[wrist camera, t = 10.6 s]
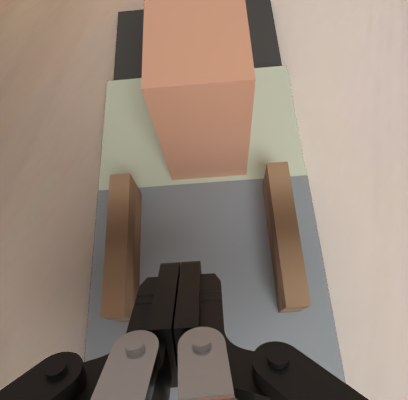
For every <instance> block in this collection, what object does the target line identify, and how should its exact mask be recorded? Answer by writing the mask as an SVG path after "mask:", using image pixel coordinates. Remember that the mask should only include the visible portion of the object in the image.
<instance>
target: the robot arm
mask: <svg viewBox="0 0 408 400" xmlns="http://www.w3.org/2000/svg"><path fill="white" fill-rule="evenodd" d="M174 387H178V400H368V399H367V398H365V397H364V396H362V395H361V394H360V393H358V392H357V391H355V390H354V389H353V388H351V387H350V386H348V385H347V384H346V383H344V382H343V381H341V380H340V379H338V378H337V377H336V376H334V375H333V374H331V373H330V372H329V371H327V370H326V369H324V368H323V367H322V366H320V365H319V364H317V363H316V362H314V361H313V360H312V359H310V358H309V357H307V356H306V355H305V354H303V353H302V352H300V351H299V350H298V349H296V348H295V347H293V346H291V345H289V344H287V343H284V342H279V341H272V342H266V343H264V344H262V345H260V346H259V347H257V348H256V350H255V351H251V350H246V349H243V348H240V347H238V346H236V345H234V344H233V343H232V342H230V341H229V339H228V338H227V337H226V334H225V331H224V318H223V304H222V289H221V281H220V279H219V278H218V277H217V275H216V274H215V273H210V274H202V271H201V262H200V261H189V262H181V263H180V262H173V263H161V264H160V269H159V273H158V277H147V278H146V279H145V281H144V282H143V283H142V284H141V285H140V286H139V289H138V293H137V298H136V300H135V303H134V307H133V310H132V314H131V317H130V321H129V324H128V328H127V331H126V334H124V335H123V336H121V337H120V338H119V339H118V340H117V341H116V342H115V343H114V345H113V347H112V349H111V351H110V353H109V354H107V355H105V356H102V357H99V358H96V359H93V360H90V361H86V362H83V361H82V359H81V357H80V356H79V355H78V354H76V353H73V352H61V353H57V354H54V355H52V356H50V357H48V358H46V359H44V360H43V361H42V362H40V363H39V364H37V365H36V366H34V367H33V368H32V369H30V370H29V371H27V372H26V373H24V374H23V375H22V376H20V377H19V378H17V379H16V380H15V381H13V382H12V383H10V384H9V385H7V386H6V387H5V388H3V389H2V390H0V400H169V398H170V388H174Z"/></svg>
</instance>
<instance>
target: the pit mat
mask: <svg viewBox="0 0 408 400" xmlns="http://www.w3.org/2000/svg"><path fill="white" fill-rule="evenodd" d="M245 2H246V10H247V17H248V25H249V33H250V40H251V48H252V55H253V63H254V68H263V67H275V66H282V64H281V58H280V53H279V47H278V41H277V36H276V30H275V24H274V19H273V13H272V7H271V2H270V0H245ZM143 21H144V10H134V11H124V12H118V26H117V41H116V55H115V69H114V80H125V79H136V78H142V50H143Z"/></svg>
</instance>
